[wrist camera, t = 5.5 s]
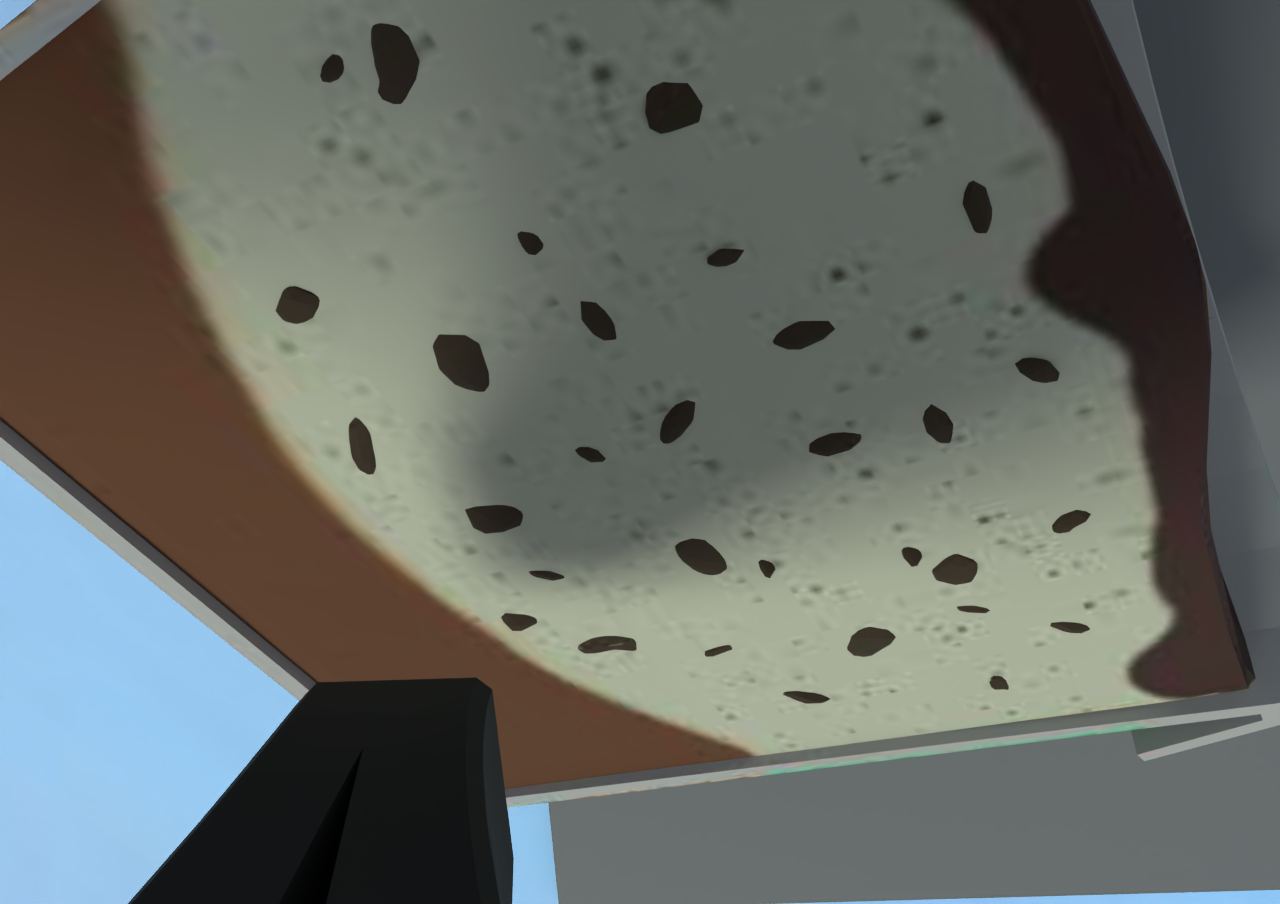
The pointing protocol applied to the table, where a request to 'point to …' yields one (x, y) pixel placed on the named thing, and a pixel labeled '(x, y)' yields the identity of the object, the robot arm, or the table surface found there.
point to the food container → (647, 368)
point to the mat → (1039, 771)
